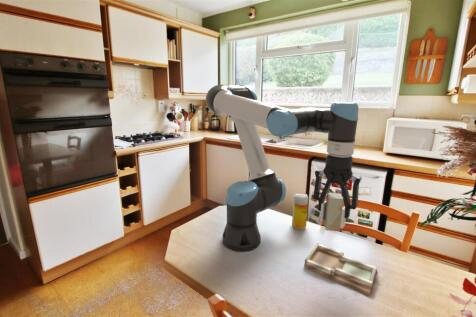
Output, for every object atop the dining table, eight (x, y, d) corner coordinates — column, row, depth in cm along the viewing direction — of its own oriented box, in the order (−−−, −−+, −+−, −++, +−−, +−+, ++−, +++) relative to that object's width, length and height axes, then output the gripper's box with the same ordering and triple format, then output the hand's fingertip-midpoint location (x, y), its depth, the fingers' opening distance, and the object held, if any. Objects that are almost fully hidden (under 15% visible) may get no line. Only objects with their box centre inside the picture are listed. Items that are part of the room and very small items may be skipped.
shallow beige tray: (303, 267, 84) (304, 260, 83) (317, 248, 94) (317, 242, 93) (369, 295, 72) (370, 287, 71) (376, 270, 82) (377, 263, 82)
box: (339, 232, 78) (344, 199, 75) (325, 230, 79) (329, 198, 76) (337, 223, 83) (341, 193, 80) (323, 222, 84) (327, 192, 81)
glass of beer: (307, 230, 106) (310, 197, 102) (293, 230, 106) (295, 197, 102) (304, 223, 112) (306, 192, 108) (290, 222, 112) (292, 192, 108)
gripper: (305, 152, 77) (300, 219, 83) (371, 162, 66) (360, 238, 72) (314, 148, 83) (308, 211, 89) (376, 156, 72) (366, 227, 78)
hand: (332, 223), depth 81 cm, fingers closed on box, 6 cm apart
